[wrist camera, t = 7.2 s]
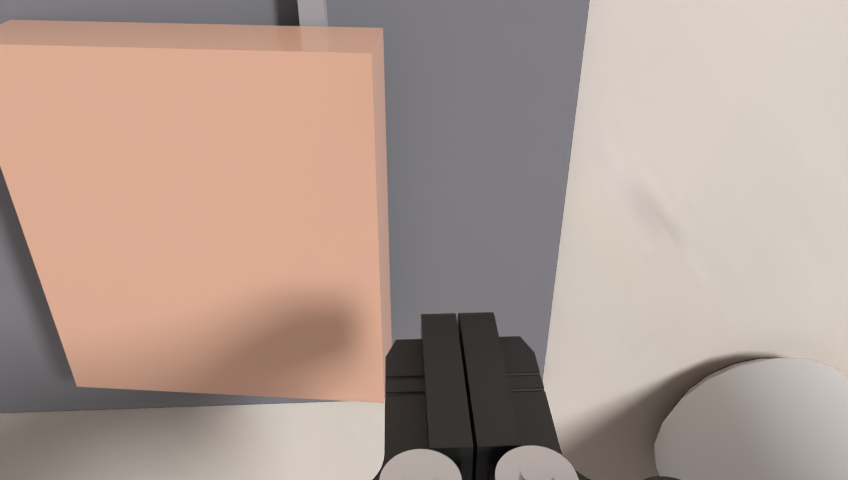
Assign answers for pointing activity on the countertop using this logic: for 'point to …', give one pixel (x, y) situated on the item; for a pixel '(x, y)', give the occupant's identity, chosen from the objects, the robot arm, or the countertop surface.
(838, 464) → the can
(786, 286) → the countertop surface
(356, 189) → the tile
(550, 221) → the mat
